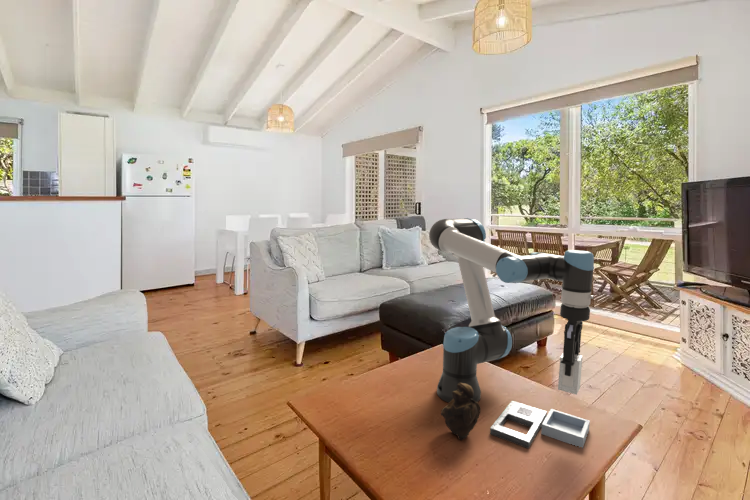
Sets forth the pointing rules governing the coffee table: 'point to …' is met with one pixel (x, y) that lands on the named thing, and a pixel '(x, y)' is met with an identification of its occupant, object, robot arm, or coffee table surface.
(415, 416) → the coffee table surface
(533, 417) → the grey slotted plate
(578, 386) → the knob block
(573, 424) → the tray
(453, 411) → the sculpture
